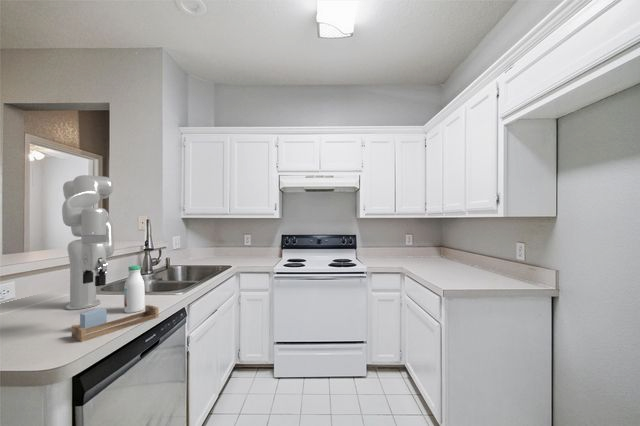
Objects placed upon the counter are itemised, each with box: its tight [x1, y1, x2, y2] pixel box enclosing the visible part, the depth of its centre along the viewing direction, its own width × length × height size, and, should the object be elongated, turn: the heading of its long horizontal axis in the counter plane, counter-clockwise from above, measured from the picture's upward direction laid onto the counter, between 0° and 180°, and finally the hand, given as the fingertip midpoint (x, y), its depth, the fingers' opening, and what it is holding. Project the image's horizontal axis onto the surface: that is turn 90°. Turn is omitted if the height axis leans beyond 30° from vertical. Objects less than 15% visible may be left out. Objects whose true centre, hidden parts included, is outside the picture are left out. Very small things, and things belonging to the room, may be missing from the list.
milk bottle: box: [123, 264, 146, 314], centre depth 127 cm, size 8×8×20 cm
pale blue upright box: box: [79, 307, 108, 329], centre depth 109 cm, size 4×7×6 cm, turn 151°
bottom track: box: [71, 304, 160, 343], centre depth 109 cm, size 8×26×4 cm, turn 151°
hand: (94, 284), depth 109 cm, fingers open, 9 cm apart
